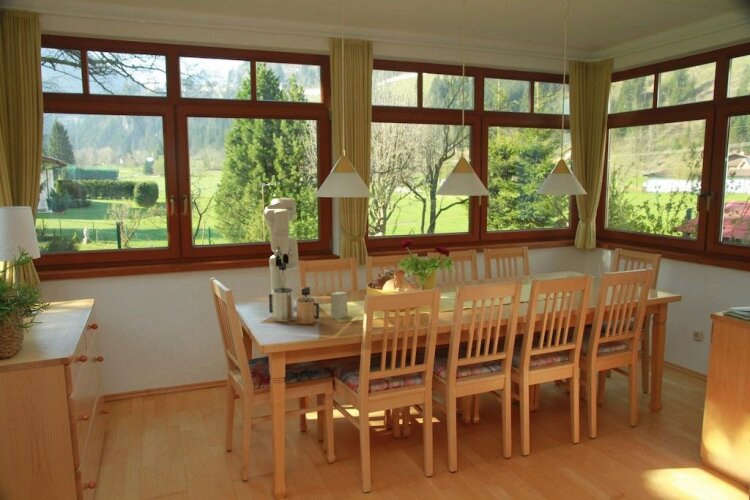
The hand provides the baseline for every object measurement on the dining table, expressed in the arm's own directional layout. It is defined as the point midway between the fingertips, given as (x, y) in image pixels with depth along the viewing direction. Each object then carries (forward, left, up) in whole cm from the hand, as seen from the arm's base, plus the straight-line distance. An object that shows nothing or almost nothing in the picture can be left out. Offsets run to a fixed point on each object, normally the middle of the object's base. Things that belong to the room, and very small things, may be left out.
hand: (282, 264), depth 307 cm
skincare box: (-13, +28, -32) cm, 44 cm away
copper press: (+2, +15, -30) cm, 34 cm away
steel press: (0, -1, -30) cm, 30 cm away
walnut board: (+1, +6, -32) cm, 32 cm away
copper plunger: (+2, +14, -27) cm, 30 cm away
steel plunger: (0, 0, -18) cm, 18 cm away
